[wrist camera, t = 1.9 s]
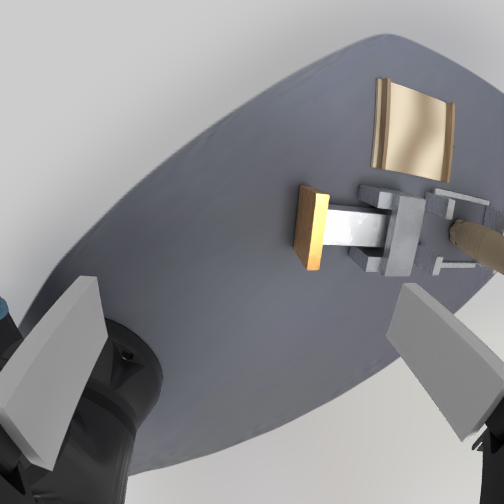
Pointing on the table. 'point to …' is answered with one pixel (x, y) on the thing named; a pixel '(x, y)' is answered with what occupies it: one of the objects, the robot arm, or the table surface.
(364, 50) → the table surface
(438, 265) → the silver rectangular frame
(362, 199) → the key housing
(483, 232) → the handle
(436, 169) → the tan base plate
